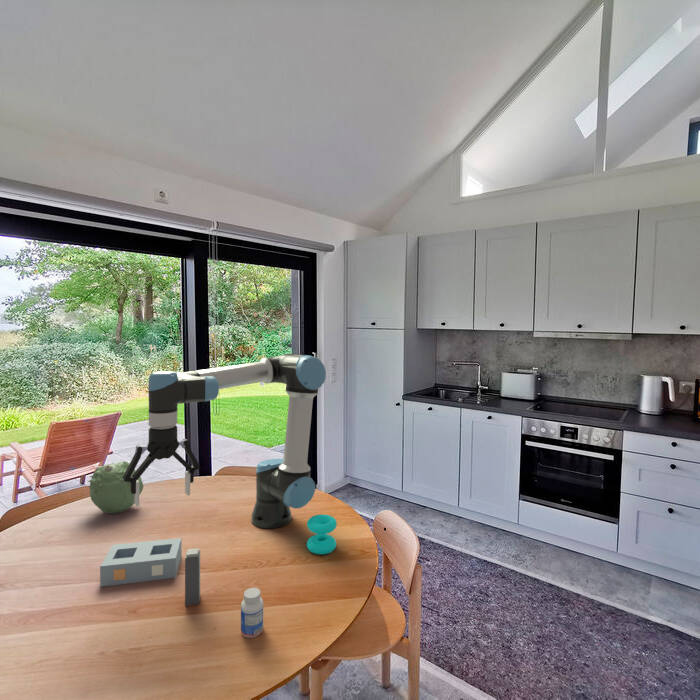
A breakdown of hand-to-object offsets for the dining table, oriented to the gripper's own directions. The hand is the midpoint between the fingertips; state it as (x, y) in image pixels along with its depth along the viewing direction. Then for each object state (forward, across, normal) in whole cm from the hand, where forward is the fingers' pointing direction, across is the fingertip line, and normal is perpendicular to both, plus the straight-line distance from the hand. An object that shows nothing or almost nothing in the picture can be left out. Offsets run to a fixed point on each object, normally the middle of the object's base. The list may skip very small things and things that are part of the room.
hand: (163, 499), depth 121 cm
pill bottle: (+25, -14, +33) cm, 43 cm away
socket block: (+25, +4, -9) cm, 27 cm away
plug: (+24, -5, +13) cm, 28 cm away
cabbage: (+25, +5, -58) cm, 64 cm away
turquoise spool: (+25, -48, +10) cm, 55 cm away
